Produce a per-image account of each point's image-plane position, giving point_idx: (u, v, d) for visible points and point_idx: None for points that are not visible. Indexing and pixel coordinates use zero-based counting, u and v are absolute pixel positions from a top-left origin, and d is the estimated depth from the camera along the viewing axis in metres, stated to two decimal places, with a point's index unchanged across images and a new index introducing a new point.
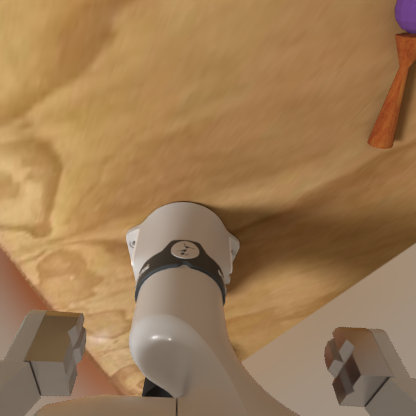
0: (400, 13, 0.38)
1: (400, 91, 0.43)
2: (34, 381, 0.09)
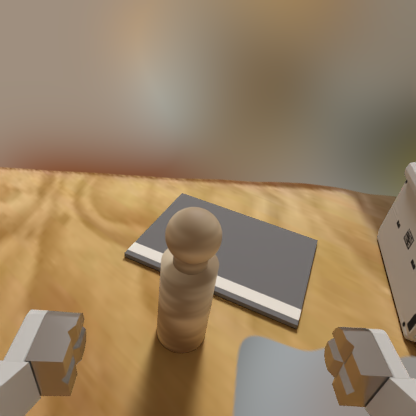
0: None
1: None
2: (34, 381, 0.09)
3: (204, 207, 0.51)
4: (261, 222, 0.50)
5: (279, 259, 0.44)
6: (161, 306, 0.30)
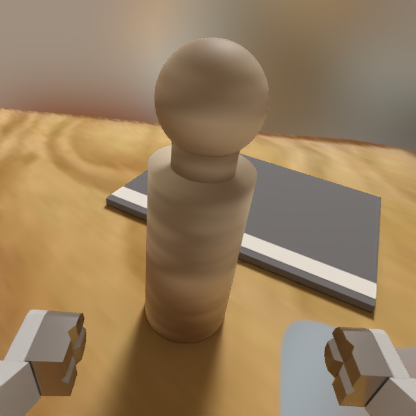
0: None
1: None
2: (34, 381, 0.09)
3: None
4: (300, 174, 0.37)
5: (331, 216, 0.30)
6: (149, 255, 0.17)
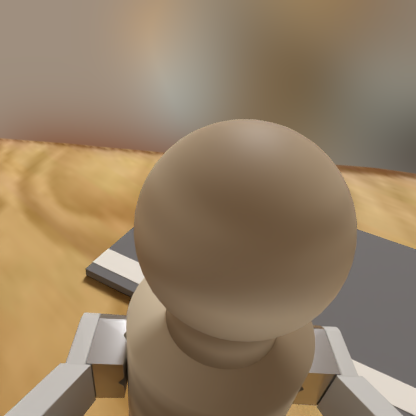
0: None
1: None
2: (93, 383, 0.09)
3: None
4: None
5: (371, 286, 0.24)
6: None
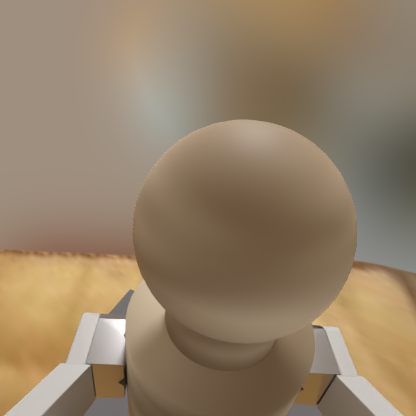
0: None
1: None
2: (92, 383, 0.09)
3: None
4: None
5: None
6: None
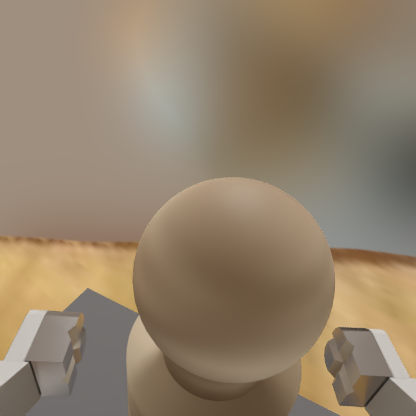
0: None
1: None
2: (34, 381, 0.09)
3: None
4: None
5: None
6: None
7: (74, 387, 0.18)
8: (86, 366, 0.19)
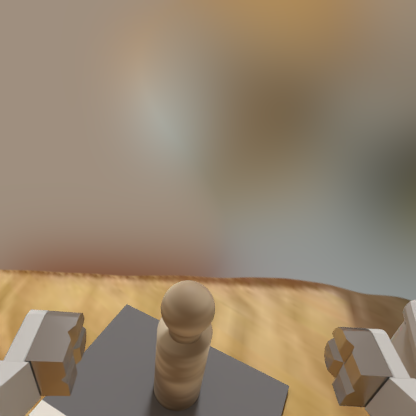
0: None
1: None
2: (34, 381, 0.09)
3: (150, 329, 0.41)
4: (219, 354, 0.39)
5: None
6: (157, 368, 0.32)
7: (125, 352, 0.38)
8: (130, 343, 0.39)
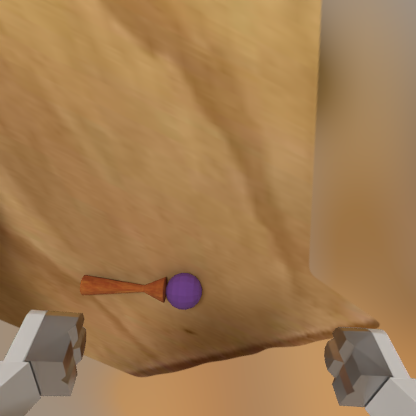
0: (177, 281, 0.54)
1: (126, 291, 0.56)
2: (34, 381, 0.09)
3: None
4: None
5: None
6: None
7: None
8: None
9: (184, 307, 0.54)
